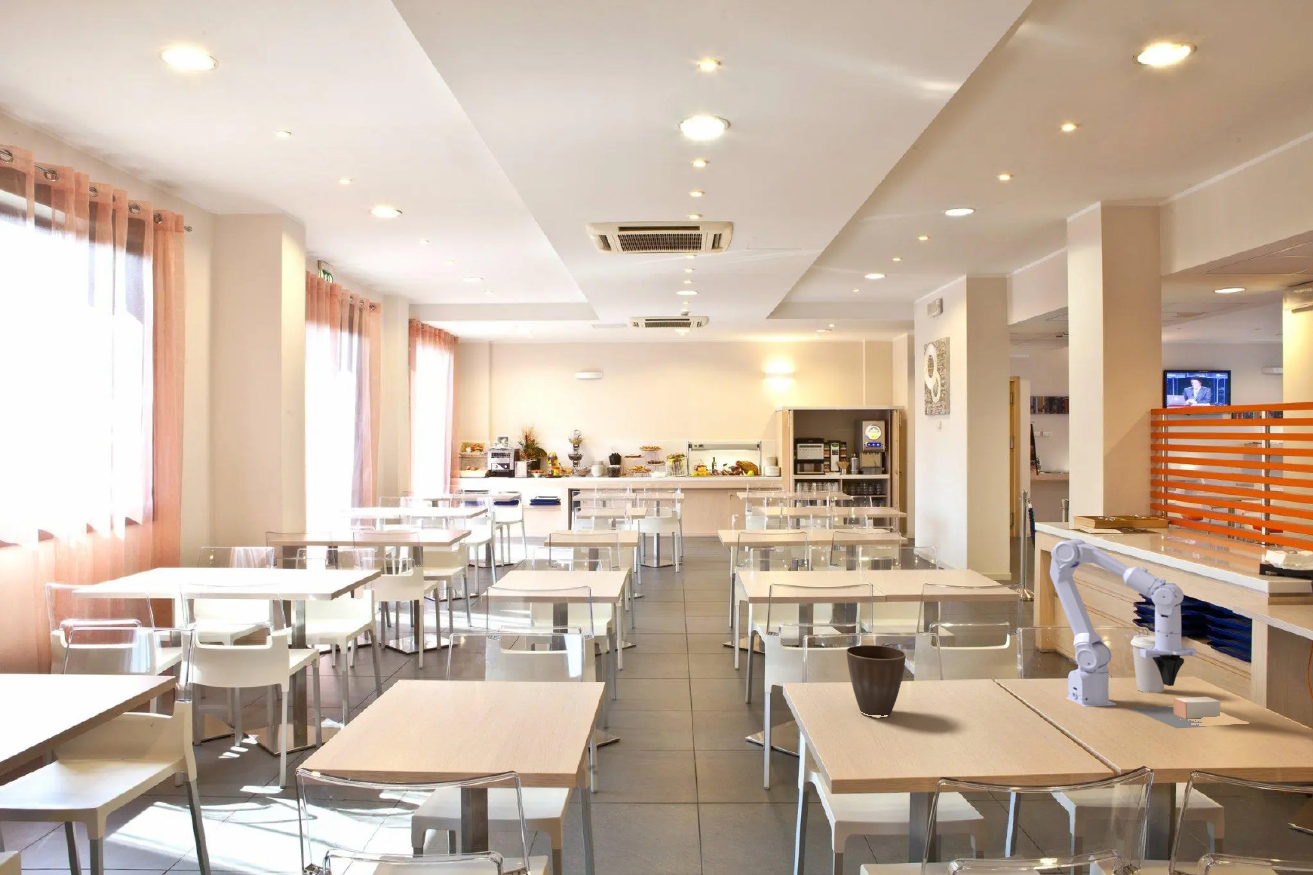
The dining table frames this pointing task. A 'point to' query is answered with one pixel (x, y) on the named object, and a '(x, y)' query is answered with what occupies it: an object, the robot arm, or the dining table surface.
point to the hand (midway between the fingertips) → (1168, 684)
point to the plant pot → (876, 677)
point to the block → (1196, 707)
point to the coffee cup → (1146, 666)
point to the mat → (1167, 716)
